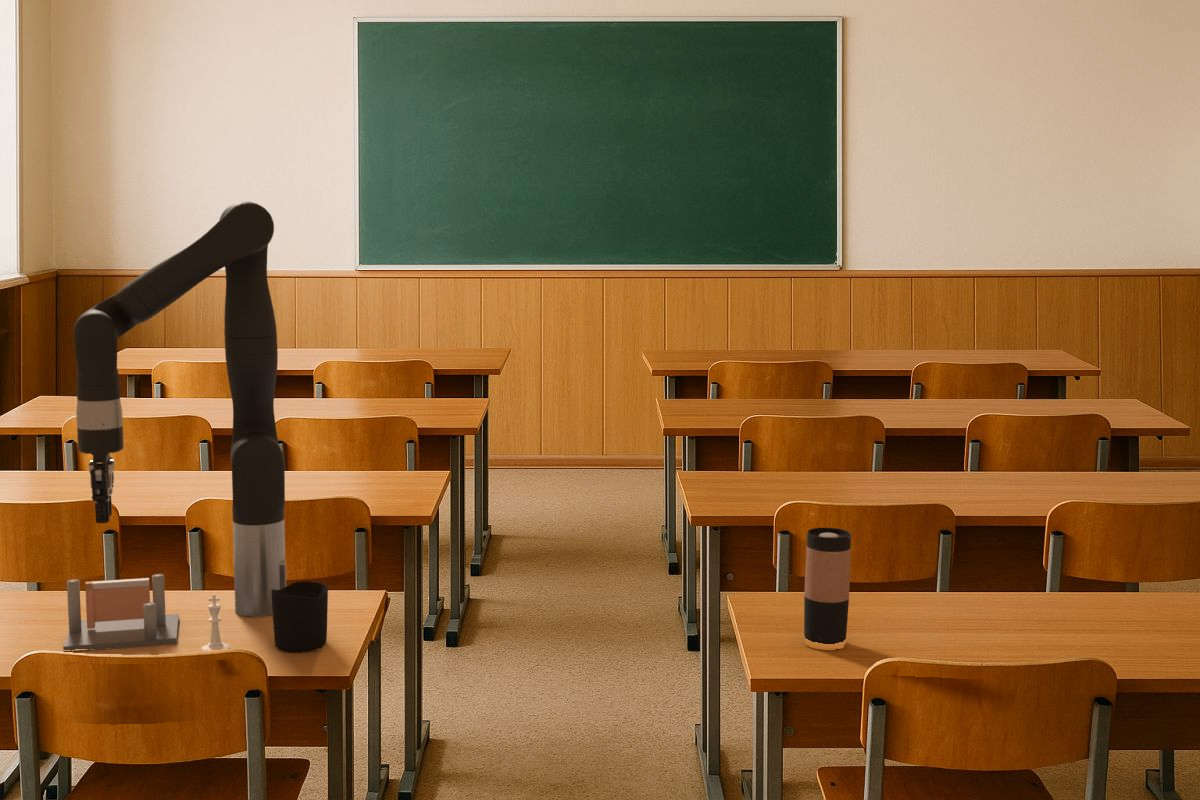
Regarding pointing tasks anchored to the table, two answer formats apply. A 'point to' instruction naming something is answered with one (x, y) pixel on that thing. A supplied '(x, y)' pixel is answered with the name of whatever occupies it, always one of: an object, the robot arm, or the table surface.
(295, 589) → the pen holder
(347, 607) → the table surface
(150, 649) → the table surface
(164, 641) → the gate frame
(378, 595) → the table surface
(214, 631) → the chess piece
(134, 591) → the gate
